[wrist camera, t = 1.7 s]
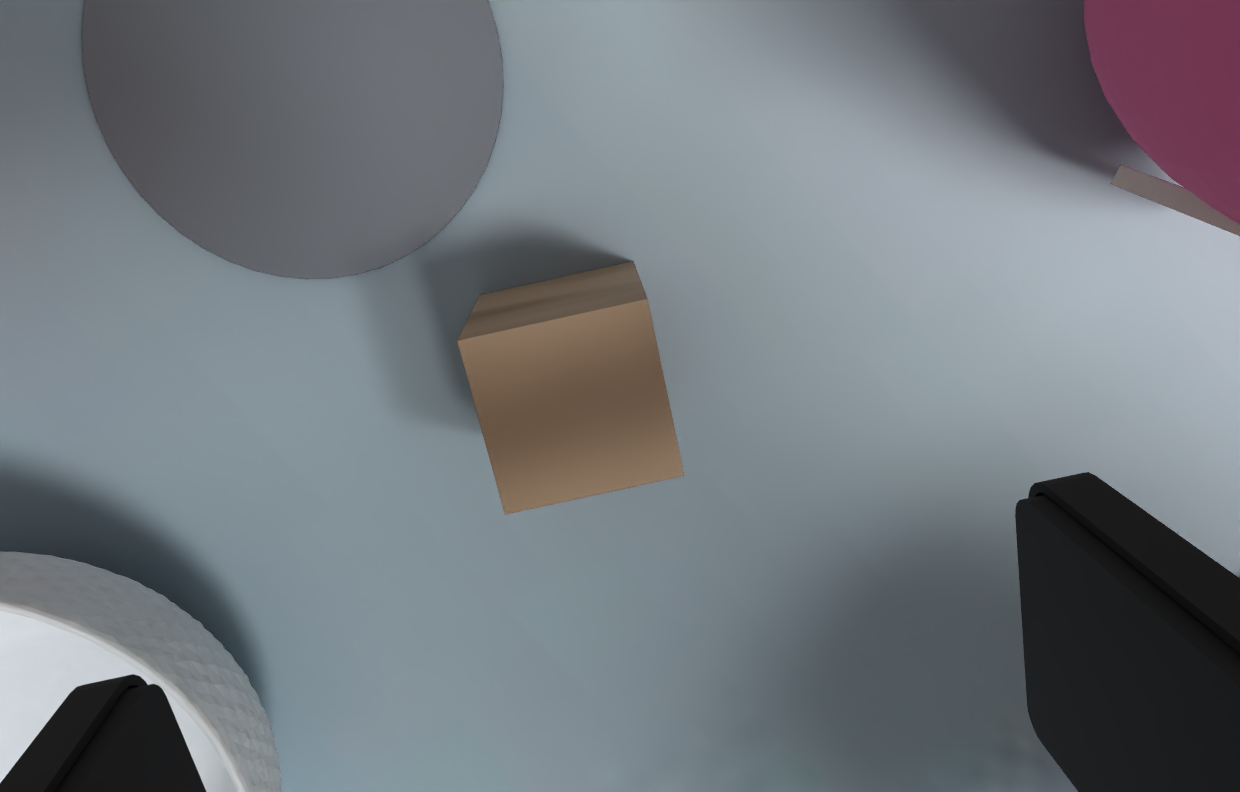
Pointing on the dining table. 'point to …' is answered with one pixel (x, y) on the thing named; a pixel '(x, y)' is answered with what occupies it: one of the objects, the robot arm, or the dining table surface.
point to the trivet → (298, 121)
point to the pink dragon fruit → (1175, 97)
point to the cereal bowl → (124, 665)
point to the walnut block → (570, 388)
